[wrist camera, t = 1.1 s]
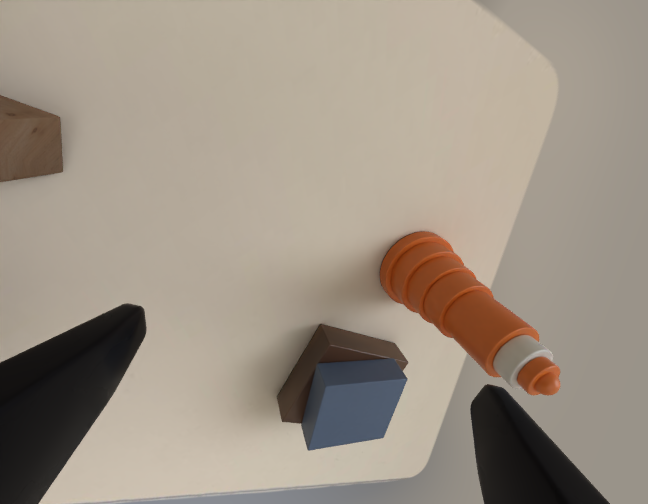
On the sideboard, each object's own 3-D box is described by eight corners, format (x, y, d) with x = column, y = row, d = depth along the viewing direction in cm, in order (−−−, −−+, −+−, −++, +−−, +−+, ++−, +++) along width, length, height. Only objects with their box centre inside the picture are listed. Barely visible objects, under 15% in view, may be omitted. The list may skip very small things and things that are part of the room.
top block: (372, 415, 28) (383, 438, 26) (300, 425, 26) (307, 451, 24) (393, 357, 26) (408, 378, 24) (316, 362, 23) (325, 386, 21)
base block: (351, 406, 31) (361, 429, 29) (276, 397, 27) (281, 422, 25) (395, 342, 29) (409, 362, 27) (320, 323, 25) (329, 344, 23)
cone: (408, 309, 27) (530, 447, 17) (364, 275, 24) (480, 416, 14) (459, 258, 26) (621, 369, 16) (421, 216, 23) (589, 319, 13)
